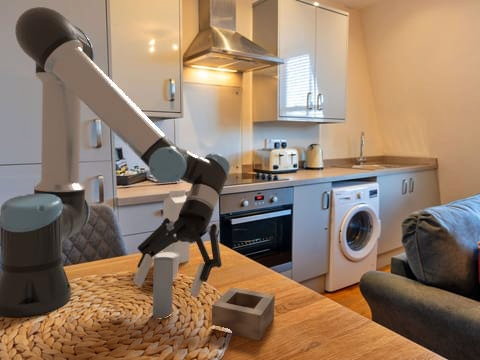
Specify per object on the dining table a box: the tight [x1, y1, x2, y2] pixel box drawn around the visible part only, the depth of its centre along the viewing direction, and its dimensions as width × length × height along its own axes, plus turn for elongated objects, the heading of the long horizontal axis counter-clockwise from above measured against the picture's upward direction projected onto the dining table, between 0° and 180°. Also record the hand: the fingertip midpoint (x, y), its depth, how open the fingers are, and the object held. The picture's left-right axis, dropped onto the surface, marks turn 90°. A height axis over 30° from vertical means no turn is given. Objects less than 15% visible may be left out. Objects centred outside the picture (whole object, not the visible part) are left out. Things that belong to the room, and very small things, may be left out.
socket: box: [211, 287, 276, 342], centre depth 74 cm, size 10×10×5 cm
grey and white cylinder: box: [152, 251, 180, 278], centre depth 95 cm, size 7×7×7 cm
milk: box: [162, 189, 191, 264], centre depth 111 cm, size 6×6×22 cm
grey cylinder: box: [152, 257, 174, 319], centre depth 76 cm, size 4×4×12 cm
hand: (164, 289), depth 75 cm, fingers open, 13 cm apart
